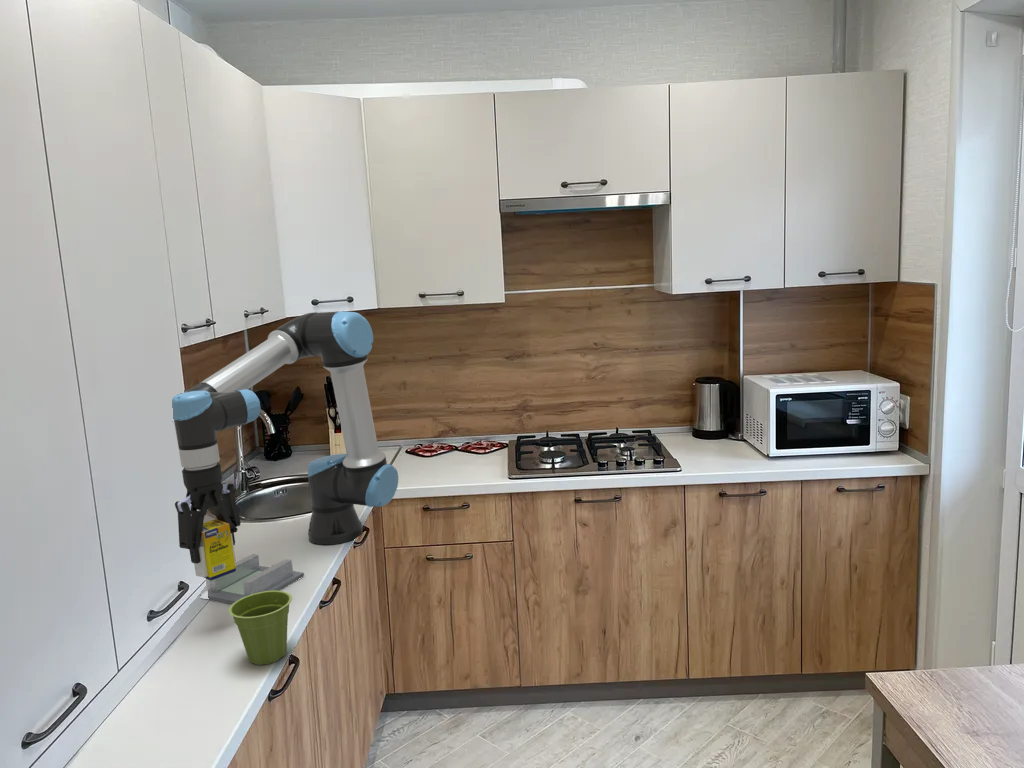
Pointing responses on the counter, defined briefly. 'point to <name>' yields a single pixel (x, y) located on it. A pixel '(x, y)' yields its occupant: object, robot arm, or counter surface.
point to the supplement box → (217, 549)
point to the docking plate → (252, 580)
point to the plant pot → (263, 624)
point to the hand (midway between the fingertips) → (216, 568)
